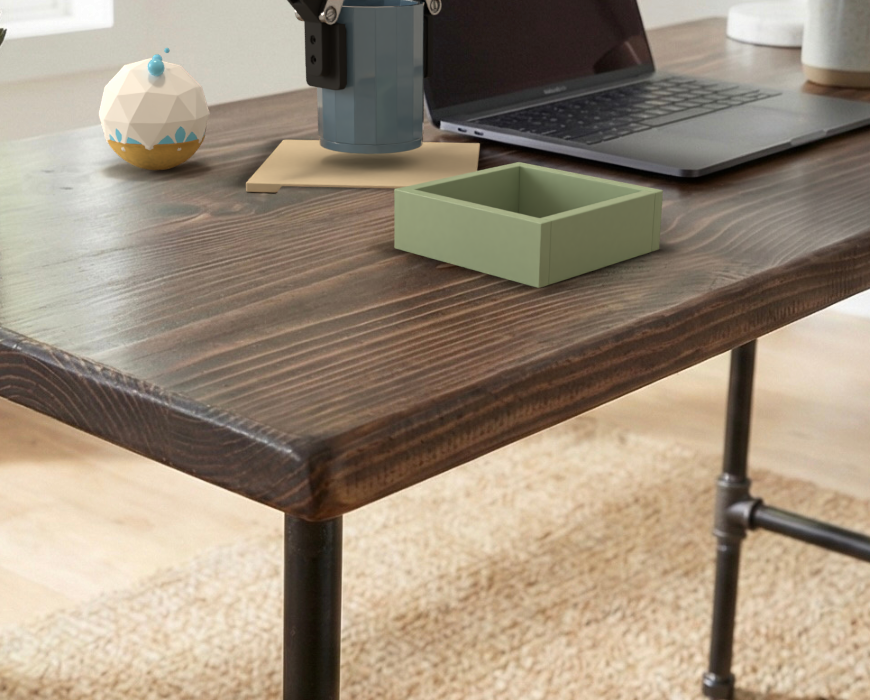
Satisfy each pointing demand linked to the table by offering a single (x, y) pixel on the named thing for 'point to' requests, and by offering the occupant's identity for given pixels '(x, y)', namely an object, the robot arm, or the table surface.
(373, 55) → the cup
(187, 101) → the ornament
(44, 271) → the table surface
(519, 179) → the open square box
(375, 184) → the wooden board
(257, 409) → the table surface
